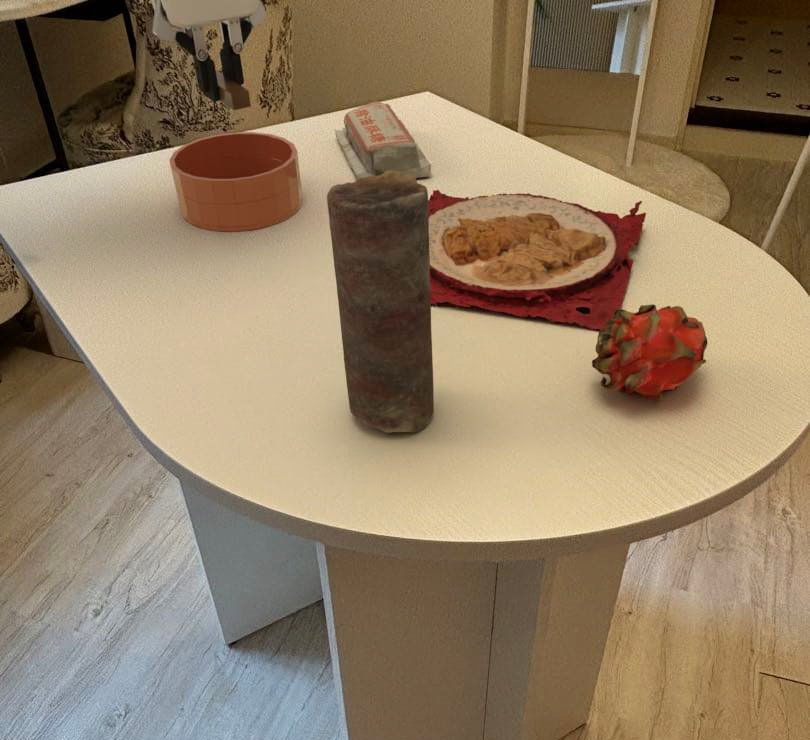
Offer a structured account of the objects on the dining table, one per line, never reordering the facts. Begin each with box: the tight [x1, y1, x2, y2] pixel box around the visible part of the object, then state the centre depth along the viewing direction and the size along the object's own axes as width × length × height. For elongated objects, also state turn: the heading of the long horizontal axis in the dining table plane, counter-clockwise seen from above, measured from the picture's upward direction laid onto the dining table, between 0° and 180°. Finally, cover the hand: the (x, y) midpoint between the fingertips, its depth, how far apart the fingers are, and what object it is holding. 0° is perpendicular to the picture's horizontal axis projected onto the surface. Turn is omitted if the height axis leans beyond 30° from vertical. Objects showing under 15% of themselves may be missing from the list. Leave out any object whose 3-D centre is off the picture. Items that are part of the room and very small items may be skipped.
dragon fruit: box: [591, 303, 708, 404], centre depth 69 cm, size 8×8×12 cm
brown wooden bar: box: [194, 69, 252, 111], centre depth 86 cm, size 10×2×2 cm, turn 33°
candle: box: [326, 170, 435, 434], centre depth 63 cm, size 8×7×20 cm
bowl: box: [169, 131, 303, 232], centre depth 98 cm, size 15×15×6 cm
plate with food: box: [428, 189, 647, 331], centre depth 87 cm, size 24×26×3 cm
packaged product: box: [334, 101, 432, 180], centre depth 108 cm, size 18×5×10 cm
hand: (223, 94), depth 87 cm, fingers closed on brown wooden bar, 2 cm apart
